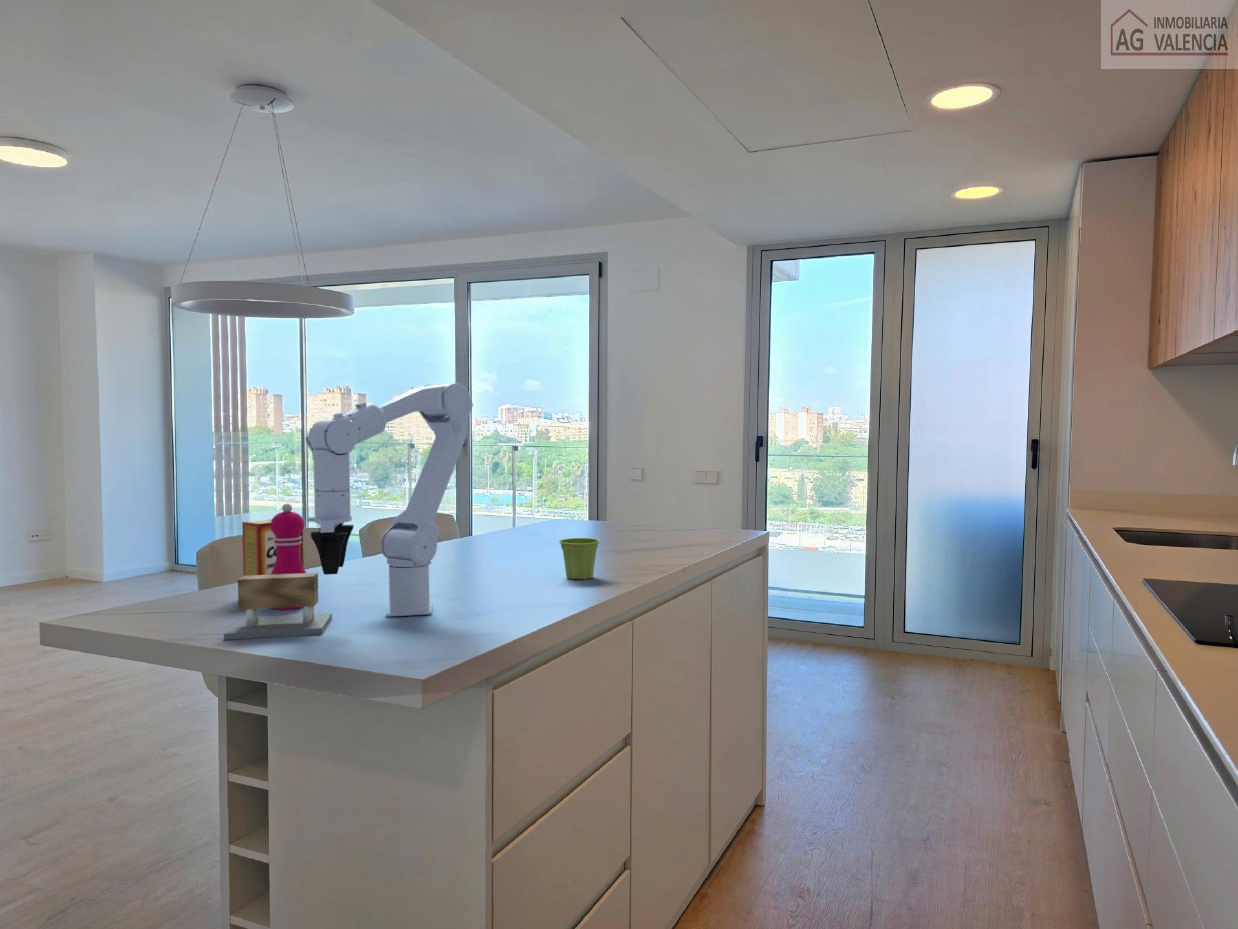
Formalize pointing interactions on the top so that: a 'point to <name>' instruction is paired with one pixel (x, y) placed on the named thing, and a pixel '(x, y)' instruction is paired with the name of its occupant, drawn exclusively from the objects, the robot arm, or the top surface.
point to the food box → (260, 548)
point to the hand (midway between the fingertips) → (333, 570)
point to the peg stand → (278, 625)
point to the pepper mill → (287, 543)
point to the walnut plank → (277, 590)
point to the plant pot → (579, 557)
